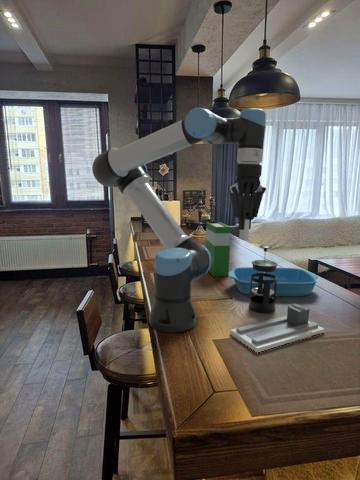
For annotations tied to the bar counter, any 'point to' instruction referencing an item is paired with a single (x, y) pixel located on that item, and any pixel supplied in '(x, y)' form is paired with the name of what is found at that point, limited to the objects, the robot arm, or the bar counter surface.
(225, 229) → the hardback book
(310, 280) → the casserole dish
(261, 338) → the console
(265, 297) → the french press
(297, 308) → the fader tab
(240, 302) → the bar counter surface
